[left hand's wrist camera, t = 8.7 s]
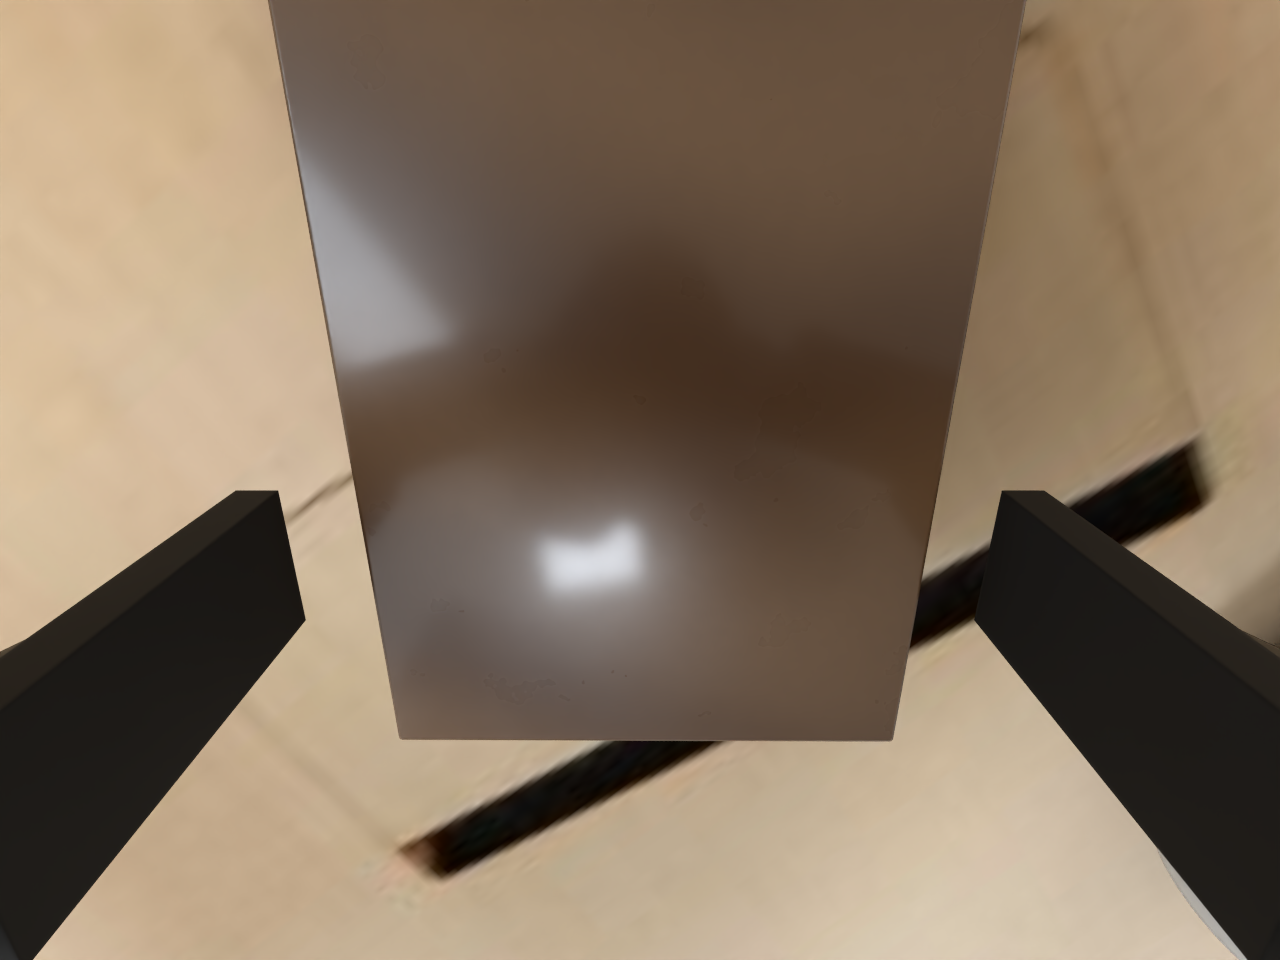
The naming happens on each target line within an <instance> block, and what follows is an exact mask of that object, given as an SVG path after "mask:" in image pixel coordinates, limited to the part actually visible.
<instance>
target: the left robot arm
mask: <svg viewBox="0 0 1280 960" xmlns="http://www.w3.org/2000/svg"><path fill="white" fill-rule="evenodd" d="M305 620H306V619H305V614H304V610H303V605H302V600H301V596H300V591H299V586H298V582H297V577H296V572H295V568H294V563H293V558H292V554H291V549H290V544H289V539H288V535H287V530H286V525H285V521H284V516H283V511H282V507H281V502H280V497H279V493H278V491H235V492H233V493H232V494H230V495H229V496H228V497H226V498H225V499H223V500H222V501H220V502H219V503H218V504H216V505H215V506H213V507H212V508H211V509H209V510H208V511H206V512H205V513H204V514H202V515H201V516H199V517H198V518H196V519H195V520H194V521H192V522H191V523H189V524H188V525H187V526H185V527H184V528H182V529H181V530H180V531H178V532H177V533H175V534H174V535H173V536H171V537H170V538H168V539H167V540H165V541H164V542H163V543H161V544H160V545H158V546H157V547H156V548H154V549H153V550H151V551H150V552H149V553H147V554H146V555H144V556H143V557H141V558H140V559H139V560H137V561H136V562H134V563H133V564H132V565H130V566H129V567H127V568H126V569H125V570H123V571H122V572H120V573H119V574H117V575H116V576H115V577H113V578H112V579H110V580H109V581H108V582H106V583H105V584H103V585H102V586H101V587H99V588H98V589H96V590H95V591H94V592H92V593H91V594H89V595H88V596H86V597H85V598H84V599H82V600H81V601H79V602H78V603H77V604H75V605H74V606H72V607H71V608H70V609H68V610H67V611H65V612H64V613H62V614H61V615H60V616H58V617H57V618H55V619H54V620H53V621H51V622H50V623H48V624H47V625H46V626H44V627H43V628H41V629H40V630H38V631H37V632H36V633H34V634H33V635H31V636H30V637H29V638H27V639H26V640H24V641H21V642H19V643H17V644H15V645H13V646H11V647H9V648H7V649H5V650H3V651H1V652H0V960H33V959H34V958H35V956H36V955H37V954H38V953H39V951H40V950H41V949H42V948H43V946H44V945H45V944H46V943H47V941H48V940H49V939H50V938H51V936H52V935H53V934H54V933H55V931H56V930H57V929H58V928H59V927H60V925H61V924H62V923H63V922H64V920H65V919H66V918H67V917H68V915H69V914H70V913H71V912H72V910H73V909H74V908H75V907H76V905H77V904H78V903H79V902H80V900H81V899H82V898H83V897H84V895H85V894H86V893H87V892H88V890H89V889H90V888H91V887H92V885H93V884H94V883H95V882H96V880H97V879H98V878H99V877H100V875H101V874H102V873H103V872H104V871H105V869H106V868H107V867H108V866H109V864H110V863H111V862H112V861H113V859H114V858H115V857H116V856H117V854H118V853H119V852H120V851H121V849H122V848H123V847H124V846H125V844H126V843H127V842H128V841H129V839H130V838H131V837H132V836H133V834H134V833H135V832H136V831H137V829H138V828H139V827H140V826H141V824H142V823H143V822H144V821H145V819H146V818H147V817H148V816H149V815H150V813H151V812H152V811H153V810H154V808H155V807H156V806H157V805H158V803H159V802H160V801H161V800H162V798H163V797H164V796H165V795H166V793H167V792H168V791H169V790H170V788H171V787H172V786H173V785H174V783H175V782H176V781H177V780H178V778H179V777H180V776H181V775H182V773H183V772H184V771H185V770H186V768H187V767H188V766H189V765H190V763H191V762H192V761H193V760H194V759H195V757H196V756H197V755H198V754H199V752H200V751H201V750H202V749H203V747H204V746H205V745H206V744H207V742H208V741H209V740H210V739H211V737H212V736H213V735H214V734H215V732H216V731H217V730H218V729H219V727H220V726H221V725H222V724H223V722H224V721H225V720H226V719H227V717H228V716H229V715H230V714H231V712H232V711H233V710H234V709H235V707H236V706H237V705H238V704H239V703H240V701H241V700H242V699H243V698H244V696H245V695H246V694H247V693H248V691H249V690H250V689H251V688H252V686H253V685H254V684H255V683H256V681H257V680H258V679H259V678H260V676H261V675H262V674H263V673H264V671H265V670H266V669H267V668H268V666H269V665H270V664H271V663H272V661H273V660H274V659H275V658H276V656H277V655H278V654H279V653H280V651H281V650H282V649H283V648H284V647H285V645H286V644H287V643H288V642H289V640H290V639H291V638H292V637H293V635H294V634H295V633H296V632H297V630H298V629H299V628H300V627H301V625H302V624H303V623H304V622H305ZM974 620H975V622H976V623H977V624H978V625H979V627H980V628H981V629H982V630H983V632H984V633H985V634H986V635H987V637H988V638H989V639H990V640H991V642H992V643H993V644H994V645H995V647H996V648H997V649H998V650H999V651H1000V653H1001V654H1002V655H1003V656H1004V658H1005V659H1006V660H1007V661H1008V663H1009V664H1010V665H1011V666H1012V668H1013V669H1014V670H1015V671H1016V673H1017V674H1018V675H1019V676H1020V678H1021V679H1022V680H1023V681H1024V683H1025V684H1026V685H1027V686H1028V688H1029V689H1030V690H1031V691H1032V693H1033V694H1034V695H1035V696H1036V698H1037V699H1038V700H1039V701H1040V703H1041V704H1042V705H1043V706H1044V707H1045V709H1046V710H1047V711H1048V712H1049V714H1050V715H1051V716H1052V717H1053V719H1054V720H1055V721H1056V722H1057V724H1058V725H1059V726H1060V727H1061V729H1062V730H1063V731H1064V732H1065V734H1066V735H1067V736H1068V737H1069V739H1070V740H1071V741H1072V742H1073V744H1074V745H1075V746H1076V747H1077V749H1078V750H1079V751H1080V752H1081V754H1082V755H1083V756H1084V757H1085V759H1086V760H1087V761H1088V762H1089V763H1090V765H1091V766H1092V767H1093V768H1094V770H1095V771H1096V772H1097V773H1098V775H1099V776H1100V777H1101V778H1102V780H1103V781H1104V782H1105V783H1106V785H1107V786H1108V787H1109V788H1110V790H1111V791H1112V792H1113V793H1114V795H1115V796H1116V797H1117V798H1118V800H1119V801H1120V802H1121V803H1122V805H1123V806H1124V807H1125V808H1126V810H1127V811H1128V812H1129V813H1130V815H1131V816H1132V817H1133V818H1134V819H1135V821H1136V822H1137V823H1138V824H1139V826H1140V827H1141V828H1142V829H1143V831H1144V832H1145V833H1146V834H1147V836H1148V837H1149V838H1150V839H1151V841H1152V842H1153V843H1154V844H1155V846H1156V847H1157V848H1158V849H1159V851H1160V852H1161V853H1162V854H1163V856H1164V857H1165V858H1166V859H1167V861H1168V862H1169V863H1170V864H1171V866H1172V867H1173V868H1174V869H1175V871H1176V872H1177V873H1178V874H1179V875H1180V877H1181V878H1182V879H1183V880H1184V882H1185V883H1186V884H1187V885H1188V887H1189V888H1190V889H1191V890H1192V892H1193V893H1194V894H1195V895H1196V897H1197V898H1198V899H1199V900H1200V902H1201V903H1202V904H1203V905H1204V907H1205V908H1206V909H1207V910H1208V912H1209V913H1210V914H1211V915H1212V917H1213V918H1214V919H1215V920H1216V922H1217V923H1218V924H1219V925H1220V927H1221V928H1222V929H1223V930H1224V931H1225V933H1226V934H1227V935H1228V936H1229V938H1230V939H1231V940H1232V941H1233V943H1234V944H1235V945H1236V946H1237V948H1238V949H1239V950H1240V951H1241V953H1242V954H1243V955H1244V956H1245V958H1246V959H1247V960H1280V648H1278V647H1275V646H1273V645H1271V644H1269V643H1267V642H1265V641H1263V640H1261V639H1259V638H1256V637H1254V636H1252V635H1250V634H1248V633H1246V632H1244V631H1242V630H1240V629H1239V628H1237V627H1236V626H1234V625H1233V624H1232V623H1230V622H1229V621H1227V620H1226V619H1225V618H1223V617H1222V616H1220V615H1219V614H1218V613H1216V612H1215V611H1213V610H1212V609H1210V608H1209V607H1208V606H1206V605H1205V604H1203V603H1202V602H1201V601H1199V600H1198V599H1196V598H1195V597H1194V596H1192V595H1191V594H1189V593H1188V592H1186V591H1185V590H1184V589H1182V588H1181V587H1179V586H1178V585H1177V584H1175V583H1174V582H1172V581H1171V580H1170V579H1168V578H1167V577H1165V576H1164V575H1163V574H1161V573H1160V572H1158V571H1157V570H1155V569H1154V568H1153V567H1151V566H1150V565H1148V564H1147V563H1146V562H1144V561H1143V560H1141V559H1140V558H1139V557H1137V556H1136V555H1134V554H1133V553H1131V552H1130V551H1129V550H1127V549H1126V548H1124V547H1123V546H1122V545H1120V544H1119V543H1117V542H1116V541H1115V540H1113V539H1112V538H1110V537H1109V536H1107V535H1106V534H1105V533H1103V532H1102V531H1100V530H1099V529H1098V528H1096V527H1095V526H1093V525H1092V524H1091V523H1089V522H1088V521H1086V520H1085V519H1084V518H1082V517H1081V516H1079V515H1078V514H1076V513H1075V512H1074V511H1072V510H1071V509H1069V508H1068V507H1067V506H1065V505H1064V504H1062V503H1061V502H1060V501H1058V500H1057V499H1055V498H1054V497H1052V496H1051V495H1050V494H1048V493H1047V492H1045V491H1002V493H1001V497H1000V502H999V507H998V511H997V516H996V521H995V525H994V530H993V535H992V539H991V544H990V549H989V554H988V558H987V563H986V568H985V572H984V577H983V582H982V586H981V591H980V596H979V600H978V605H977V610H976V614H975V619H974Z"/></svg>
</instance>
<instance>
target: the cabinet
mask: <svg viewBox="0 0 1280 960" xmlns="http://www.w3.org/2000/svg"><path fill="white" fill-rule="evenodd" d="M268 3H269V9H270V14H271V20H272V25H273V31H274V37H275V42H276V48H277V53H278V59H279V65H280V70H281V76H282V82H283V87H284V93H285V98H286V104H287V110H288V115H289V121H290V126H291V132H292V138H293V143H294V149H295V155H296V160H297V166H298V171H299V177H300V183H301V188H302V194H303V199H304V205H305V211H306V216H307V222H308V227H309V233H310V239H311V244H312V250H313V256H314V261H315V267H316V272H317V278H318V284H319V289H320V295H321V300H322V306H323V312H324V317H325V323H326V329H327V334H328V340H329V345H330V351H331V357H332V362H333V368H334V373H335V379H336V385H337V390H338V396H339V401H340V407H341V413H342V418H343V424H344V430H345V435H346V441H347V446H348V452H349V458H350V463H351V469H352V474H353V480H354V486H355V491H356V497H357V502H358V508H359V514H360V519H361V525H362V531H363V536H364V542H365V547H366V553H367V559H368V564H369V570H370V575H371V581H372V587H373V592H374V598H375V604H376V609H377V615H378V620H379V626H380V632H381V637H382V643H383V648H384V654H385V660H386V665H387V671H388V676H389V682H390V688H391V693H392V699H393V705H394V710H395V716H396V721H397V727H398V733H399V738H400V739H402V740H640V741H892V740H893V735H894V730H895V724H896V719H897V713H898V708H899V702H900V696H901V691H902V685H903V680H904V674H905V669H906V663H907V658H908V652H909V647H910V641H911V636H912V630H913V625H914V619H915V613H916V608H917V602H918V597H919V591H920V586H921V580H922V575H923V569H924V564H925V558H926V553H927V547H928V541H929V536H930V530H931V525H932V519H933V514H934V508H935V503H936V497H937V492H938V486H939V481H940V475H941V469H942V464H943V458H944V453H945V447H946V442H947V436H948V431H949V425H950V420H951V414H952V409H953V403H954V397H955V392H956V386H957V381H958V375H959V370H960V364H961V359H962V353H963V348H964V342H965V337H966V331H967V325H968V320H969V314H970V309H971V303H972V298H973V292H974V287H975V281H976V276H977V270H978V265H979V259H980V253H981V248H982V242H983V237H984V231H985V226H986V220H987V215H988V209H989V204H990V198H991V193H992V187H993V182H994V176H995V170H996V165H997V159H998V154H999V148H1000V143H1001V137H1002V132H1003V126H1004V121H1005V115H1006V110H1007V104H1008V98H1009V93H1010V87H1011V82H1012V76H1013V71H1014V65H1015V60H1016V54H1017V49H1018V43H1019V38H1020V32H1021V26H1022V21H1023V15H1024V10H1025V4H1026V0H268Z"/></svg>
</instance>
